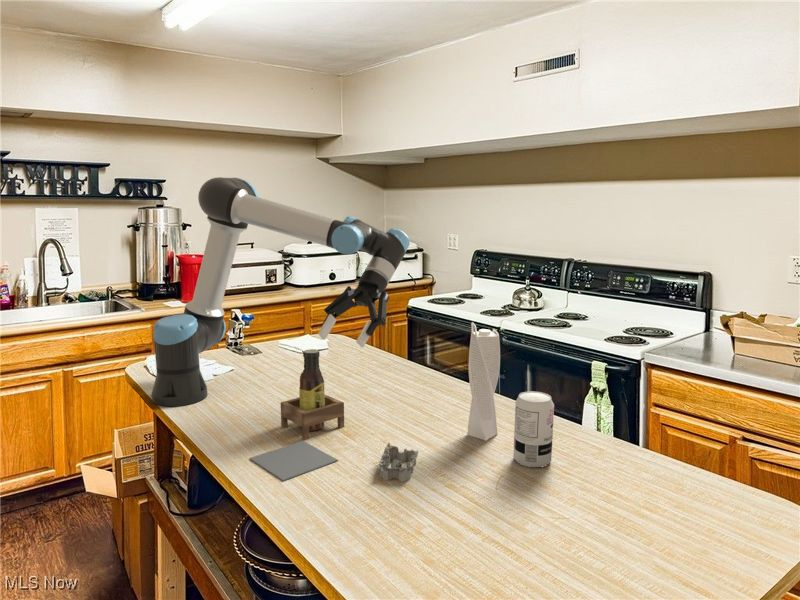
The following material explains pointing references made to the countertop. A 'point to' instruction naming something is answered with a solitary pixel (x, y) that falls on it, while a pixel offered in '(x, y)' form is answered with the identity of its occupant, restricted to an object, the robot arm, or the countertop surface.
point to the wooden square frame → (311, 414)
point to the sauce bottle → (311, 385)
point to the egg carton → (397, 463)
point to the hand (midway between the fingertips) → (340, 340)
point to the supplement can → (533, 429)
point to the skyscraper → (483, 382)
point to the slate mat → (293, 460)
